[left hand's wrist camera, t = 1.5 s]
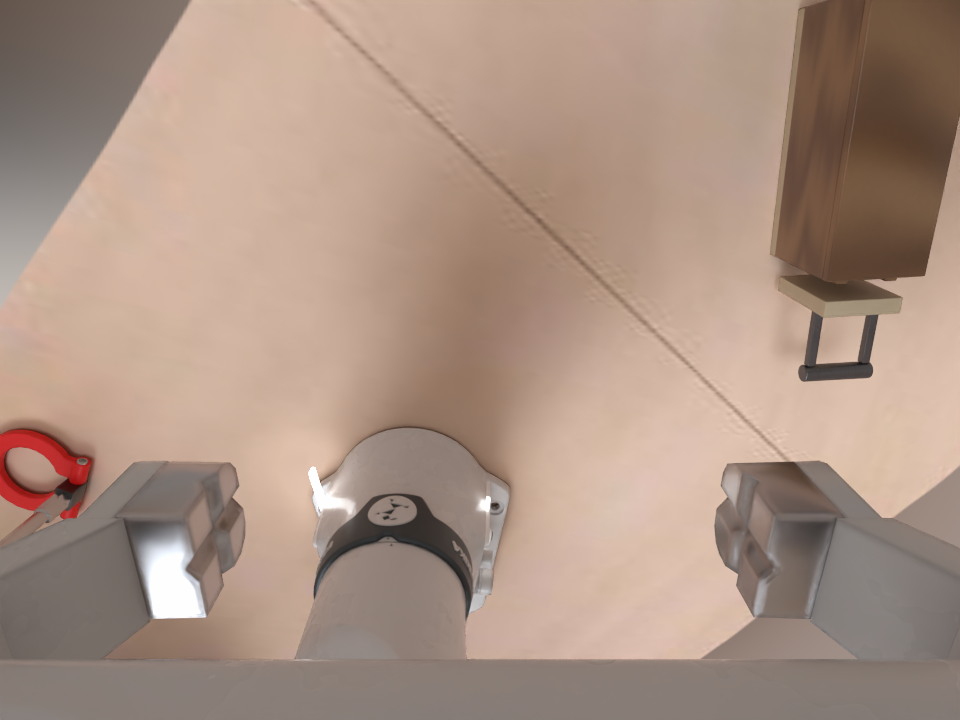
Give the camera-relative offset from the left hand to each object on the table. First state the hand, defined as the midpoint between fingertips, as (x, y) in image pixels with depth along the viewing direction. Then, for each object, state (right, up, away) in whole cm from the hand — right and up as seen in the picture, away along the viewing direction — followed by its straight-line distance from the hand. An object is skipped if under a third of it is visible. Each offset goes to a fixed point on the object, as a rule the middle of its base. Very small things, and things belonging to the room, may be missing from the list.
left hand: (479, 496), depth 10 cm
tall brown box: (+27, +19, +36) cm, 49 cm away
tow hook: (-42, -8, +48) cm, 64 cm away
